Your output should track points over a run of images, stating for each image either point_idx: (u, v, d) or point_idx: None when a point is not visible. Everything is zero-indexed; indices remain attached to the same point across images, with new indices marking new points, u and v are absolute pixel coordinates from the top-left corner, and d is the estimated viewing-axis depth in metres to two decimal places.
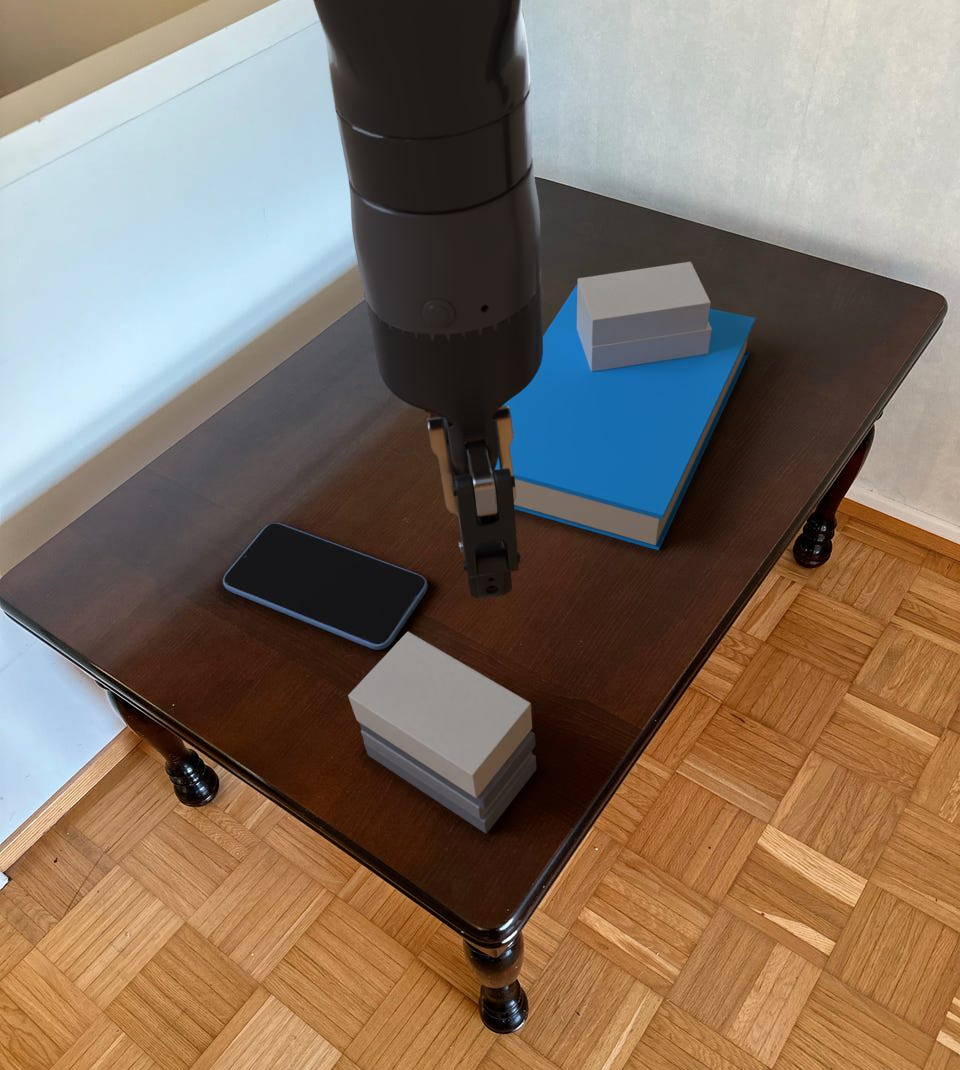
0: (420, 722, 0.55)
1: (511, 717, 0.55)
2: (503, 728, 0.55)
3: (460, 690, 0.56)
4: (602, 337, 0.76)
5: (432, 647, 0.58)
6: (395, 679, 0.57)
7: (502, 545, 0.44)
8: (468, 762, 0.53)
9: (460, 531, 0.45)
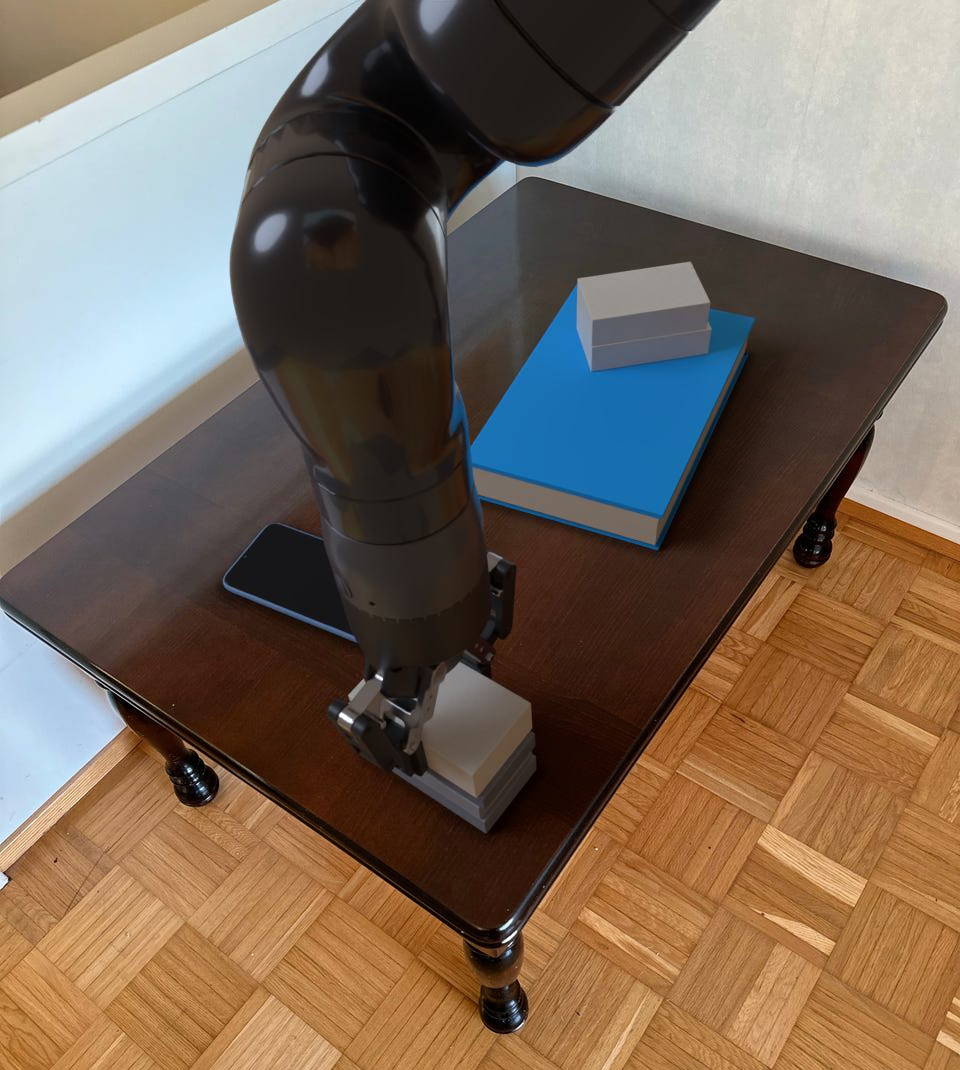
0: None
1: (511, 717, 0.55)
2: (503, 728, 0.55)
3: (460, 690, 0.56)
4: (602, 337, 0.76)
5: None
6: None
7: None
8: (468, 762, 0.53)
9: None
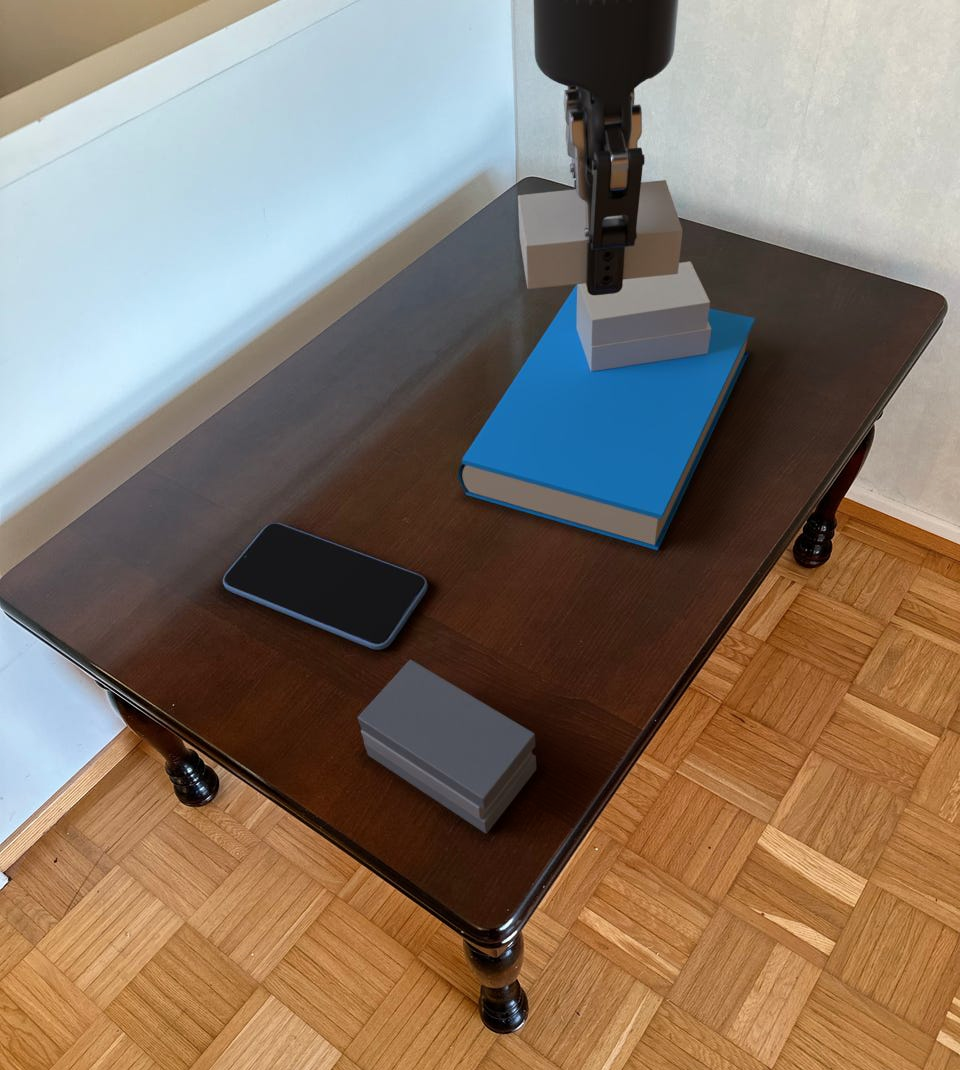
0: None
1: (664, 192, 0.59)
2: (667, 199, 0.58)
3: None
4: (602, 337, 0.76)
5: (551, 192, 0.60)
6: (549, 220, 0.58)
7: (622, 223, 0.54)
8: (669, 226, 0.57)
9: (588, 217, 0.54)
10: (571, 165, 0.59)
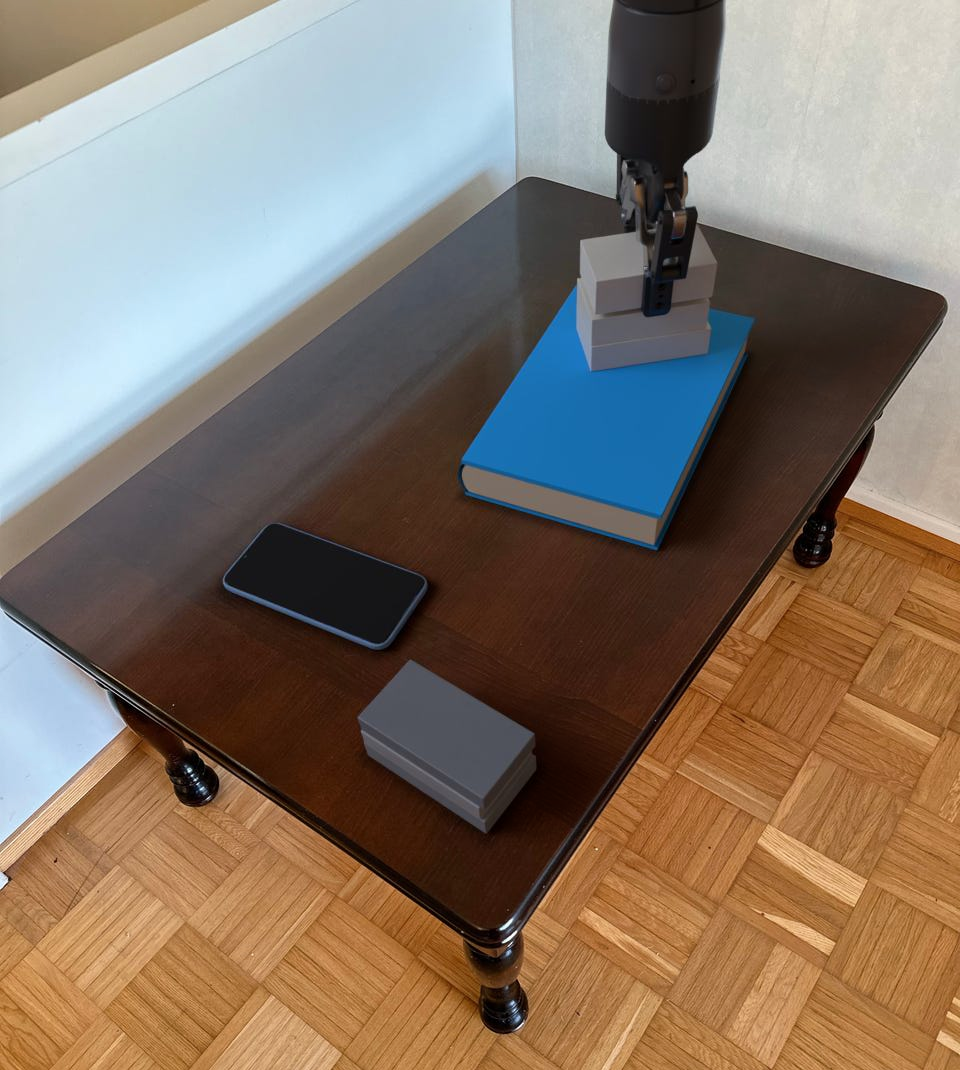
0: None
1: (696, 232, 0.74)
2: (700, 239, 0.74)
3: None
4: (601, 337, 0.76)
5: (606, 236, 0.75)
6: (610, 259, 0.73)
7: (675, 261, 0.69)
8: (706, 260, 0.72)
9: (647, 258, 0.70)
10: (622, 215, 0.74)
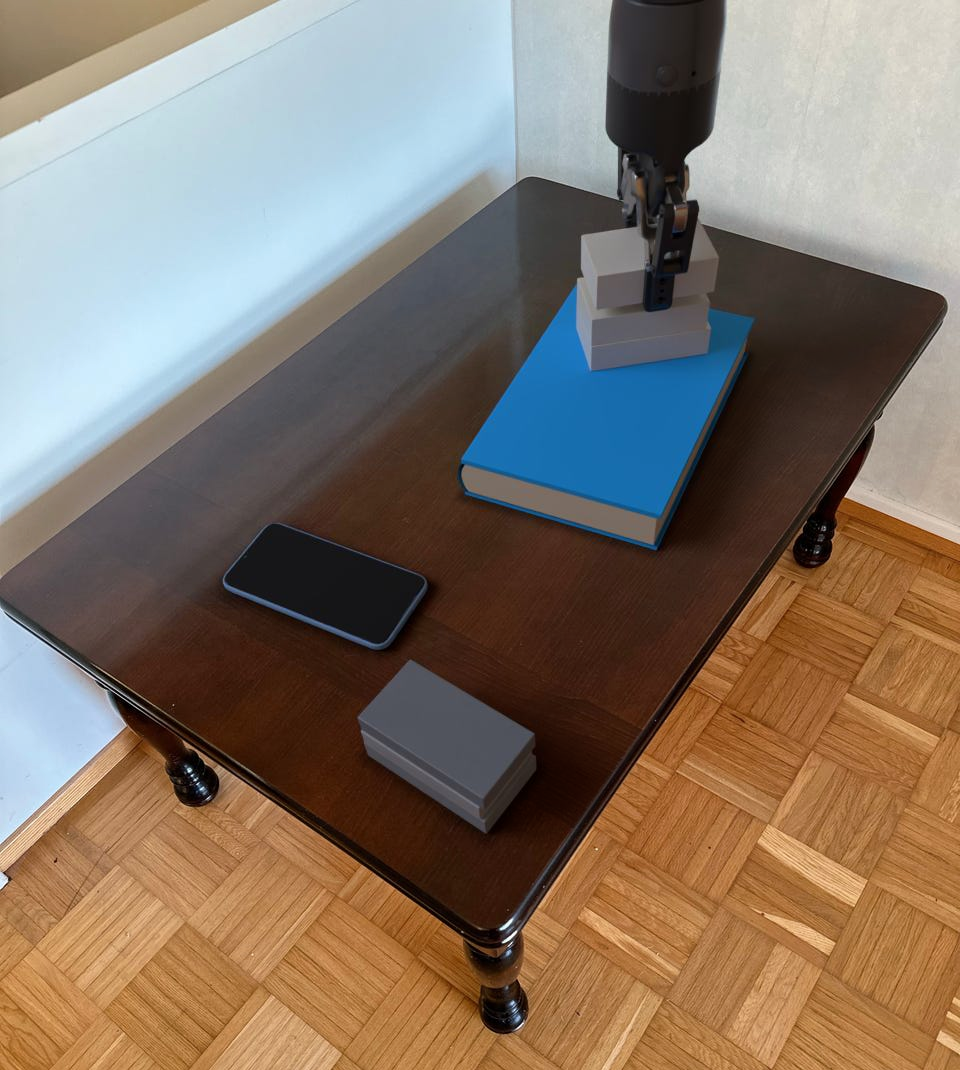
0: None
1: (698, 227, 0.74)
2: (702, 233, 0.73)
3: None
4: (601, 337, 0.76)
5: (607, 231, 0.75)
6: (611, 254, 0.73)
7: (677, 255, 0.69)
8: (708, 254, 0.72)
9: (648, 252, 0.69)
10: (623, 210, 0.74)
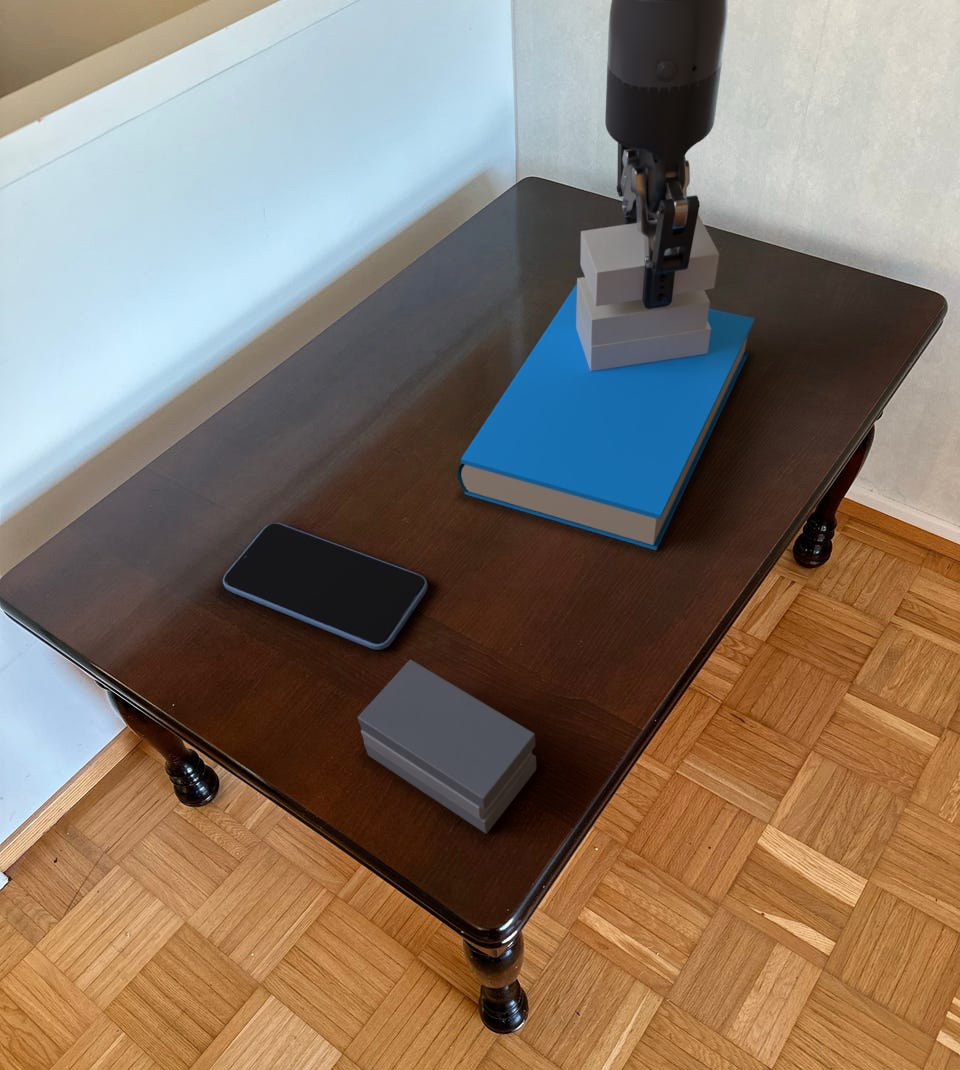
0: None
1: (698, 223, 0.74)
2: (702, 229, 0.73)
3: None
4: (601, 337, 0.76)
5: (607, 227, 0.74)
6: (611, 250, 0.72)
7: (677, 252, 0.68)
8: (708, 251, 0.71)
9: (648, 248, 0.69)
10: (623, 206, 0.74)
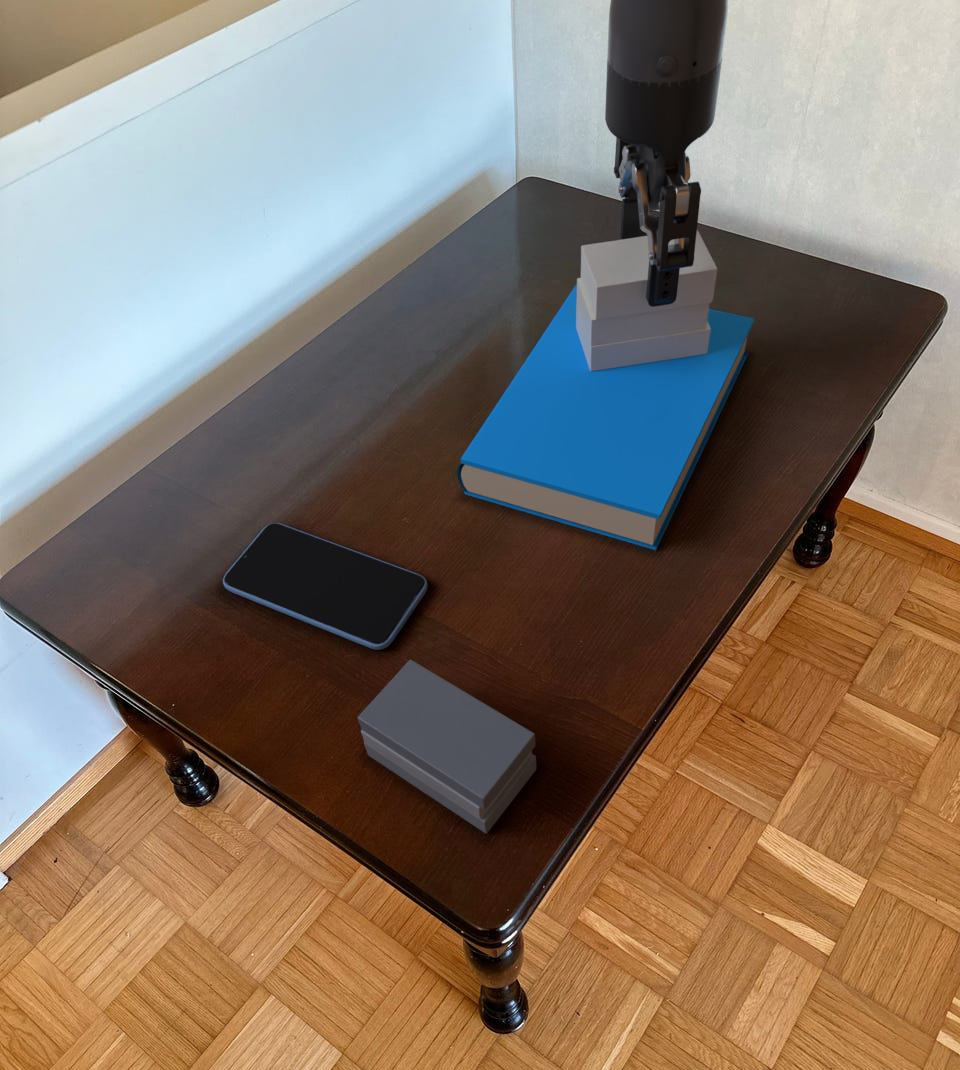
0: None
1: (697, 238, 0.75)
2: (700, 244, 0.74)
3: None
4: (601, 337, 0.76)
5: (607, 242, 0.75)
6: (611, 265, 0.73)
7: (682, 248, 0.67)
8: (707, 266, 0.72)
9: (652, 243, 0.68)
10: (620, 188, 0.74)
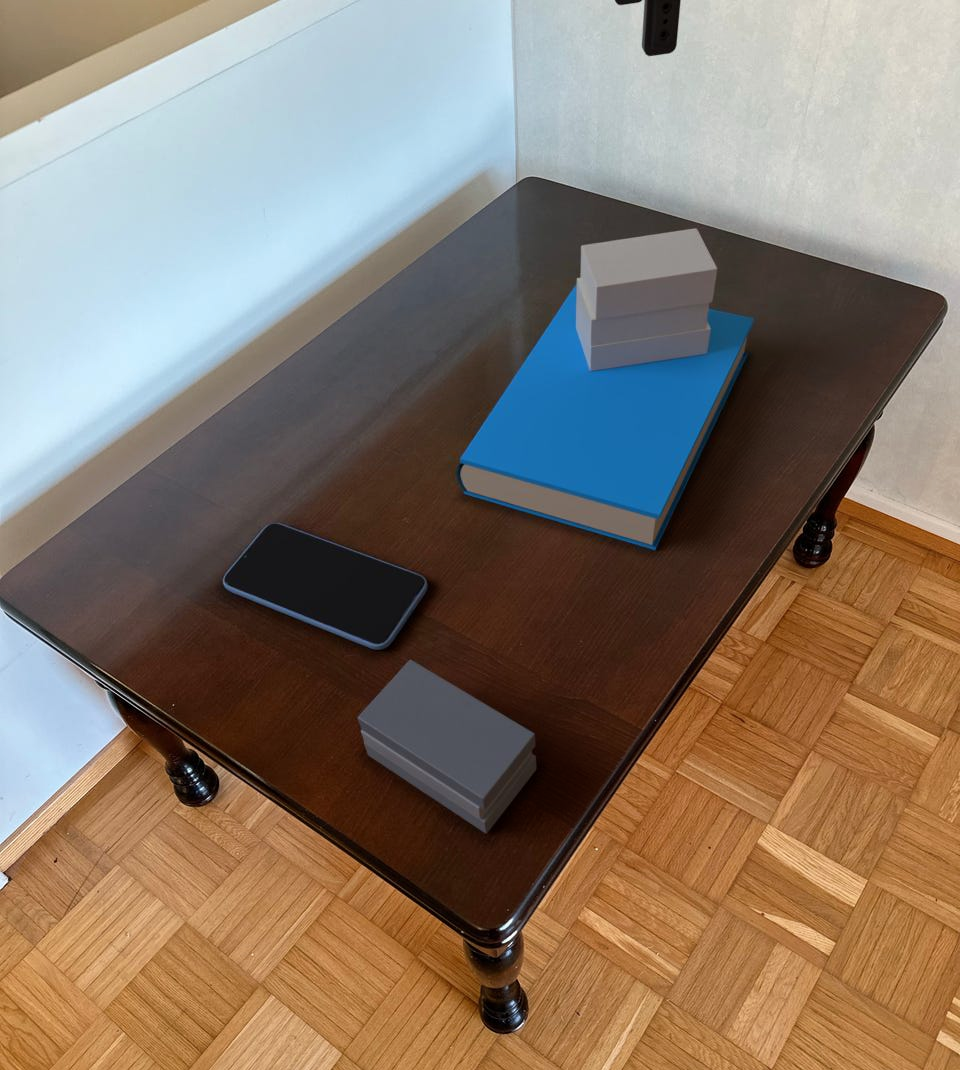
0: (655, 270, 0.73)
1: (697, 238, 0.75)
2: (700, 244, 0.74)
3: (652, 246, 0.74)
4: (601, 337, 0.76)
5: (607, 242, 0.75)
6: (610, 265, 0.73)
7: None
8: (706, 266, 0.72)
9: None
10: None
